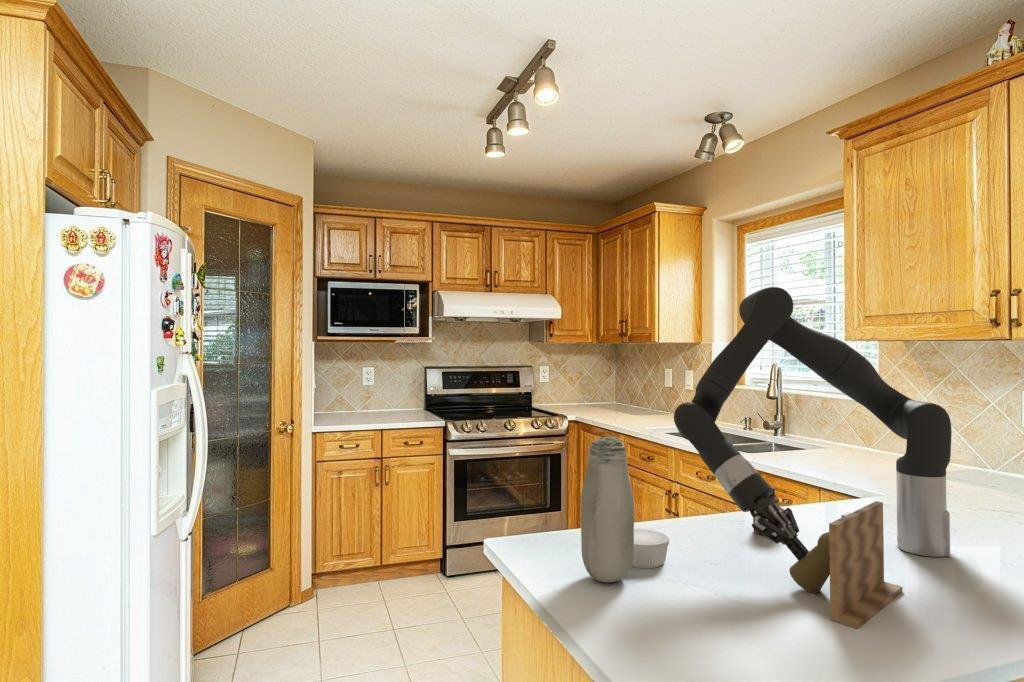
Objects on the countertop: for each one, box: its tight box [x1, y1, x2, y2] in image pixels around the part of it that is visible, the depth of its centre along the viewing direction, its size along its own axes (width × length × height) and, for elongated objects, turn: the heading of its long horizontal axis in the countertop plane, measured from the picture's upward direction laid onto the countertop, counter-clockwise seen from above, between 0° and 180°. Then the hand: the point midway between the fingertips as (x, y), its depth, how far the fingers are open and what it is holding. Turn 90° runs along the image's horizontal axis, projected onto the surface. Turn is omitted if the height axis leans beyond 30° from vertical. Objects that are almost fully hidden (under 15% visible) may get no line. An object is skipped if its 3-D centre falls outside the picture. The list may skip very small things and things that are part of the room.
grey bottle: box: [580, 436, 635, 584], centre depth 117 cm, size 10×10×28 cm
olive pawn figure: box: [789, 531, 830, 594], centre depth 109 cm, size 6×6×11 cm
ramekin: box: [631, 528, 670, 569], centre depth 127 cm, size 11×11×5 cm
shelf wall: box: [828, 500, 903, 630], centre depth 104 cm, size 22×4×16 cm, turn 131°
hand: (805, 557), depth 111 cm, fingers closed
